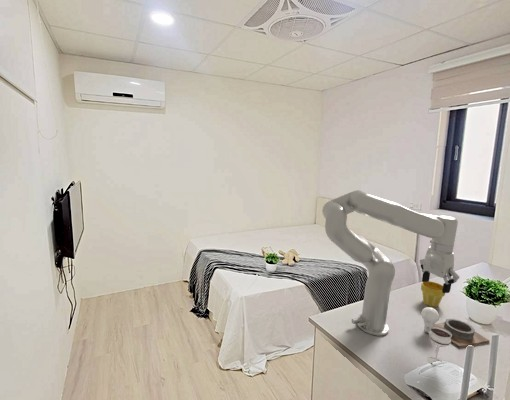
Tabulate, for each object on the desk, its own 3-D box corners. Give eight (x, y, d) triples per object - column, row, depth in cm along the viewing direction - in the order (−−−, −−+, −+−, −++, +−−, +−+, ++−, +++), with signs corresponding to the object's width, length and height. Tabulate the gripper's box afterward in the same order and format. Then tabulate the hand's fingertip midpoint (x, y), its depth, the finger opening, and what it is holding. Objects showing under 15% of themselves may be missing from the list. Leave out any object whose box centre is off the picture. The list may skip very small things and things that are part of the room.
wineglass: (439, 356, 108) (445, 326, 106) (450, 369, 101) (456, 338, 99) (421, 354, 109) (426, 325, 106) (430, 367, 102) (436, 337, 100)
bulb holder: (458, 348, 113) (460, 338, 113) (428, 326, 126) (430, 318, 126) (489, 342, 118) (491, 333, 117) (457, 322, 131) (458, 314, 130)
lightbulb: (438, 338, 119) (443, 313, 117) (421, 335, 120) (425, 311, 118) (432, 329, 125) (436, 305, 123) (416, 326, 126) (420, 303, 124)
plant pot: (423, 307, 142) (426, 288, 141) (415, 297, 152) (418, 279, 151) (446, 310, 141) (449, 291, 139) (437, 300, 151) (440, 282, 149)
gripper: (416, 240, 123) (411, 278, 126) (454, 255, 107) (447, 298, 110) (430, 239, 125) (424, 277, 128) (470, 254, 109) (462, 296, 112)
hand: (435, 286), depth 119 cm, fingers open, 9 cm apart
